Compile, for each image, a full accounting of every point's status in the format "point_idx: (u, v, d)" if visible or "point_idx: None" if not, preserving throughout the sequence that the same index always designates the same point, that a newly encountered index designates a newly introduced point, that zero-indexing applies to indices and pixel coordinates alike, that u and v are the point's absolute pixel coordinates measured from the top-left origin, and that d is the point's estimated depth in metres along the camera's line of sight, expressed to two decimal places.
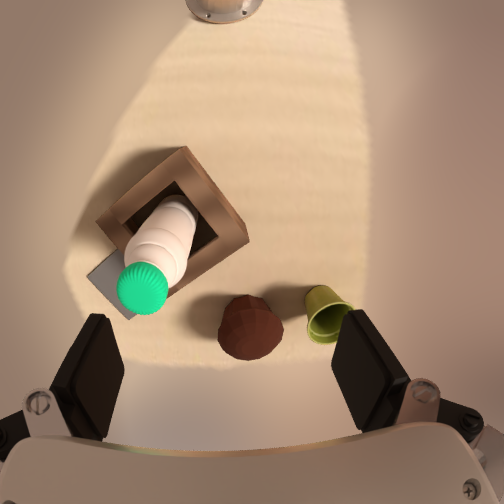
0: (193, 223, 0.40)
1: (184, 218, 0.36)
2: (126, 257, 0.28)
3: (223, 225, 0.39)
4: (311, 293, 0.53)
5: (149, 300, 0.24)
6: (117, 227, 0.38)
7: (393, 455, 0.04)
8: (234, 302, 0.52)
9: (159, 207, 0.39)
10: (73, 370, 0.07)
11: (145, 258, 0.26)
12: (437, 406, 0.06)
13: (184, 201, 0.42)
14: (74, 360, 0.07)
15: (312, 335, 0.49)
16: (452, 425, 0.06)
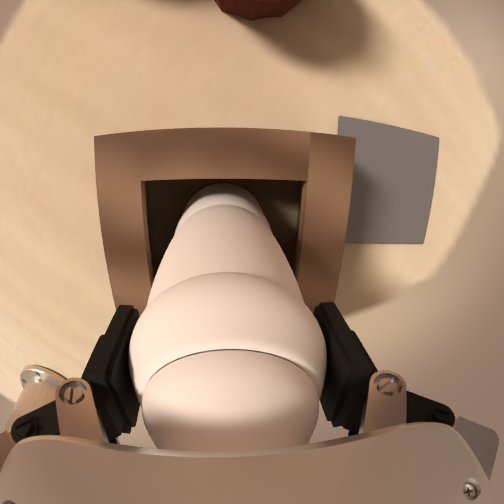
0: (177, 230, 0.19)
1: None
2: None
3: (119, 199, 0.16)
4: None
5: None
6: None
7: (393, 455, 0.04)
8: (251, 14, 0.17)
9: None
10: (108, 359, 0.07)
11: None
12: (404, 396, 0.07)
13: None
14: (108, 349, 0.08)
15: None
16: None
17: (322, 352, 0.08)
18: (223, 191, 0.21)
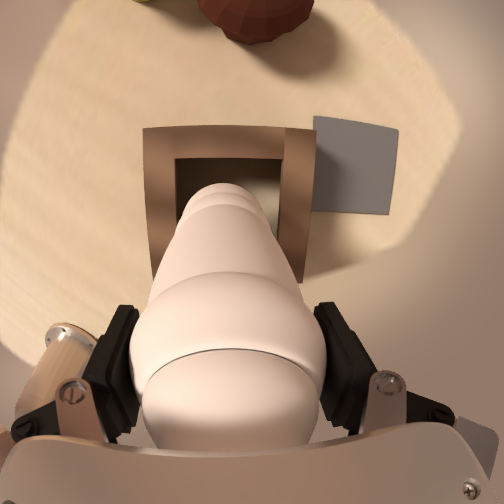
0: (177, 229, 0.19)
1: None
2: None
3: (159, 170, 0.25)
4: None
5: None
6: None
7: (393, 455, 0.04)
8: (248, 42, 0.26)
9: None
10: (108, 359, 0.07)
11: None
12: (404, 396, 0.07)
13: None
14: (108, 349, 0.08)
15: None
16: None
17: (322, 351, 0.08)
18: (223, 191, 0.21)
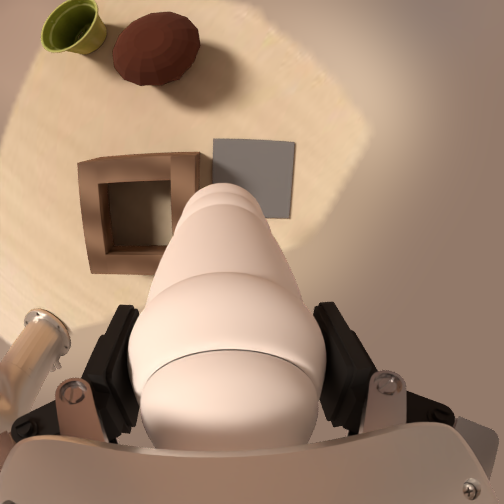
0: (176, 229, 0.19)
1: None
2: None
3: (89, 192, 0.33)
4: (88, 52, 0.30)
5: None
6: None
7: (393, 455, 0.04)
8: None
9: None
10: (108, 359, 0.07)
11: None
12: (404, 396, 0.07)
13: None
14: (108, 349, 0.08)
15: None
16: None
17: (321, 352, 0.08)
18: (222, 191, 0.21)
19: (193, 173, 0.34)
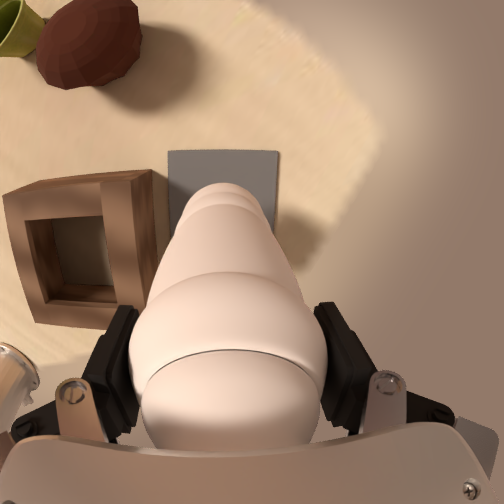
0: (176, 229, 0.18)
1: None
2: None
3: (17, 231, 0.23)
4: (24, 54, 0.20)
5: None
6: None
7: (393, 455, 0.04)
8: (96, 85, 0.24)
9: None
10: (108, 359, 0.07)
11: None
12: (404, 396, 0.07)
13: None
14: (108, 349, 0.08)
15: (22, 9, 0.13)
16: None
17: (323, 352, 0.08)
18: (223, 191, 0.21)
19: (130, 205, 0.24)
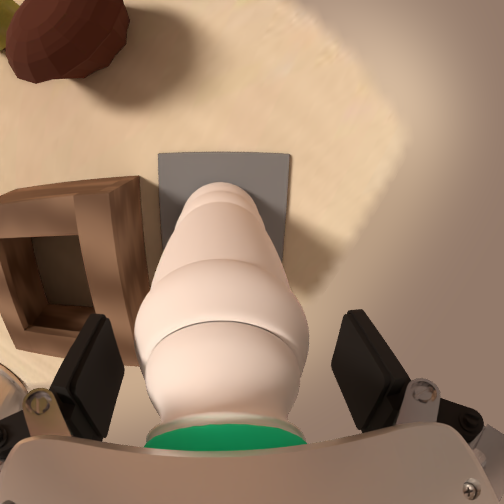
0: (177, 225, 0.20)
1: None
2: None
3: None
4: (0, 47, 0.15)
5: None
6: None
7: (393, 455, 0.04)
8: (74, 77, 0.19)
9: None
10: (73, 370, 0.07)
11: None
12: (437, 406, 0.06)
13: None
14: (74, 360, 0.07)
15: None
16: (452, 425, 0.06)
17: (303, 329, 0.10)
18: (220, 190, 0.23)
19: (110, 223, 0.19)
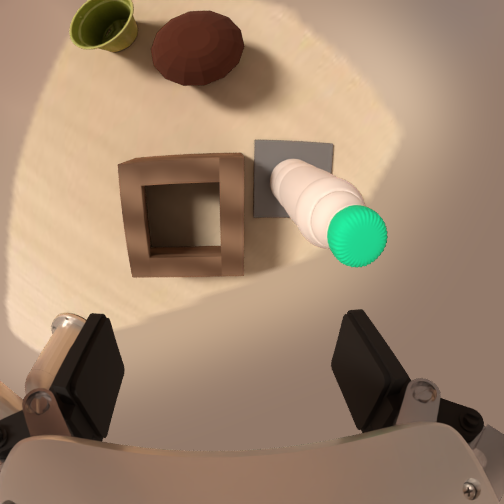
0: (280, 178, 0.36)
1: (282, 199, 0.34)
2: None
3: (131, 194, 0.34)
4: (119, 49, 0.31)
5: (359, 231, 0.20)
6: (227, 256, 0.39)
7: (393, 455, 0.04)
8: None
9: None
10: (73, 371, 0.07)
11: None
12: (436, 406, 0.06)
13: (275, 194, 0.40)
14: (74, 360, 0.07)
15: None
16: (452, 425, 0.06)
17: None
18: (298, 161, 0.38)
19: (242, 175, 0.35)
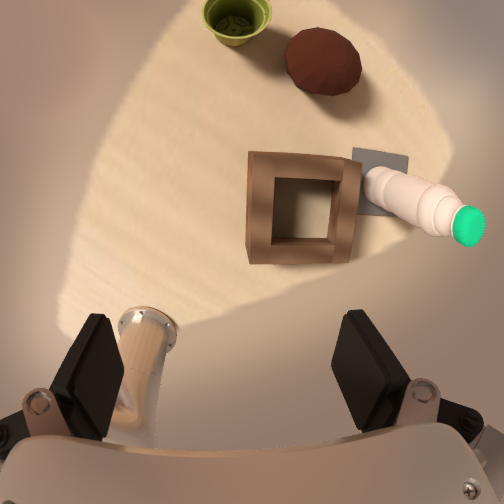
0: (384, 182, 0.41)
1: (391, 198, 0.38)
2: None
3: (263, 184, 0.39)
4: (237, 44, 0.36)
5: (475, 222, 0.25)
6: (339, 245, 0.43)
7: (393, 455, 0.04)
8: (313, 93, 0.40)
9: None
10: (73, 370, 0.07)
11: (448, 231, 0.29)
12: (436, 406, 0.06)
13: (371, 195, 0.45)
14: (74, 360, 0.07)
15: (267, 13, 0.29)
16: (452, 425, 0.06)
17: None
18: (390, 169, 0.43)
19: (360, 177, 0.39)
